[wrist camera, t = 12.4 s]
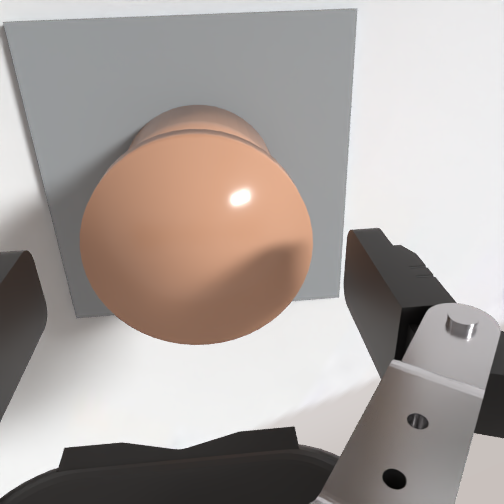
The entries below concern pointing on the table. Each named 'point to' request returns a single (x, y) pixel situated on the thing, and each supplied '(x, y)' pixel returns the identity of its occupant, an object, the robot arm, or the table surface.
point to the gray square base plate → (189, 93)
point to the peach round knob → (196, 230)
